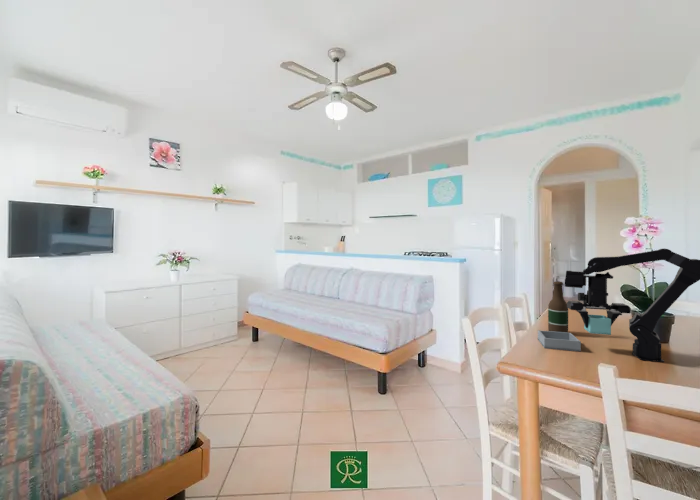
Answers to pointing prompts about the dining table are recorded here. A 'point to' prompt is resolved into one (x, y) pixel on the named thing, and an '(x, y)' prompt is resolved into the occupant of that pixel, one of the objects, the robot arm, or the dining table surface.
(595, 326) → the small crate
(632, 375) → the dining table surface
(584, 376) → the dining table surface
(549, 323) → the beer bottle
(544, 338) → the big crate
